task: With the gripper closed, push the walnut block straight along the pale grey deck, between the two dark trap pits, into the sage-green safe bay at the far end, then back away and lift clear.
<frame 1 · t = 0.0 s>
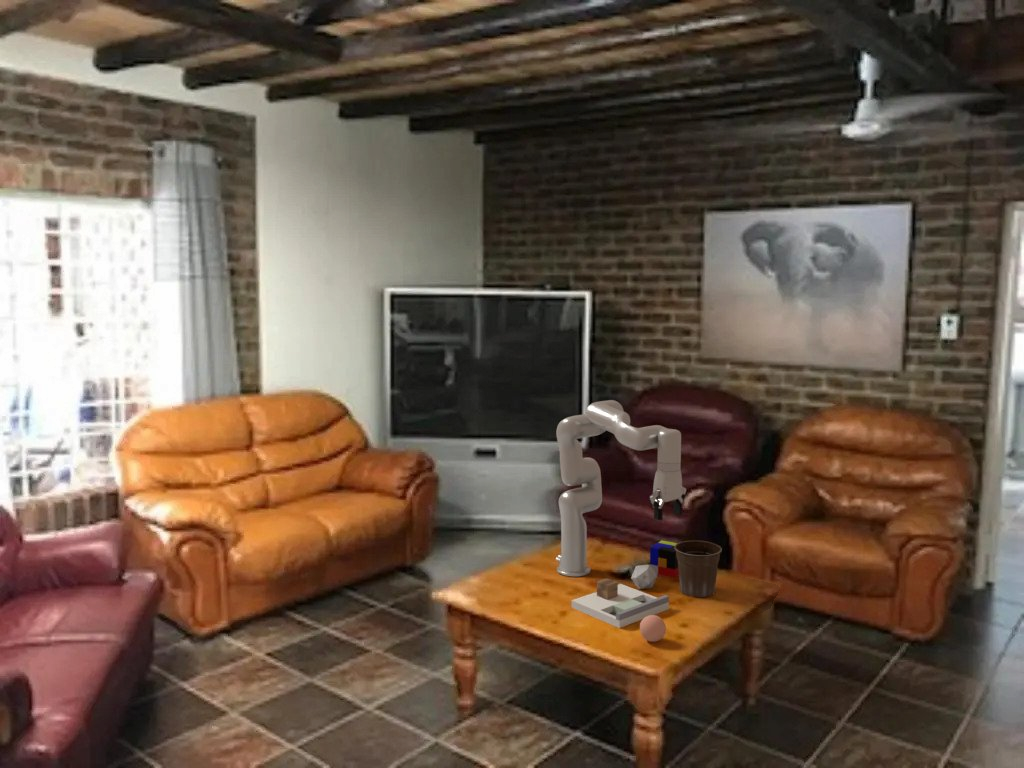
hand: (667, 516, 284), 31 cm above the table, tool pointing down, fingers open, 9 cm apart
toy ball: (652, 641, 262), on the table
die: (643, 587, 306), on the table
block: (607, 596, 291), point 2 cm above the table, touching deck
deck: (619, 608, 287), on the table
puzzle toy: (667, 572, 322), on the table
plant pot: (696, 592, 302), on the table
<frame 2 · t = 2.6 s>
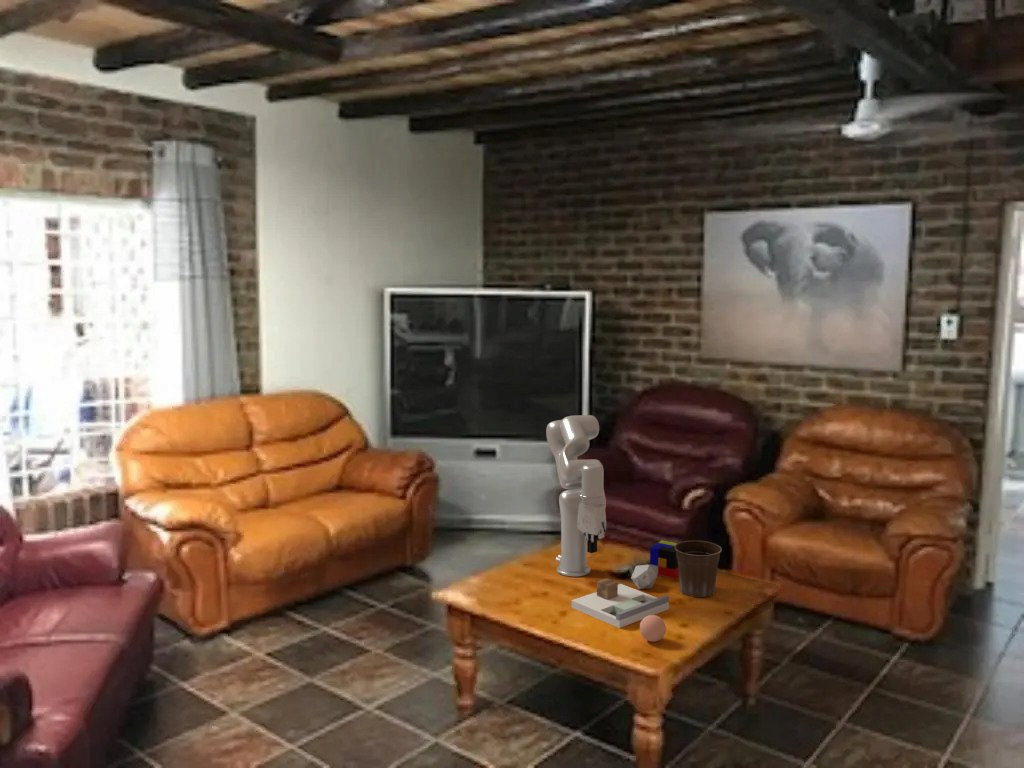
hand: (592, 551, 295), 16 cm above the table, tool pointing down, fingers closed
nothing on the table moved.
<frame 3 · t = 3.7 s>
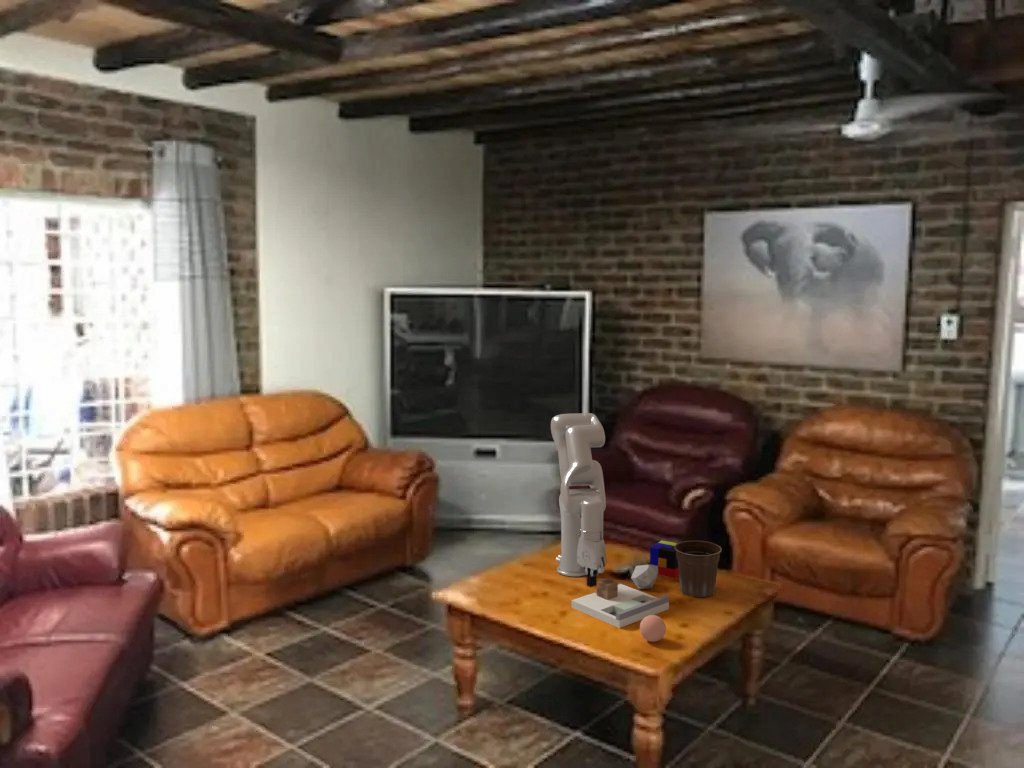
hand: (591, 585, 296), 4 cm above the table, tool pointing down, fingers closed
nothing on the table moved.
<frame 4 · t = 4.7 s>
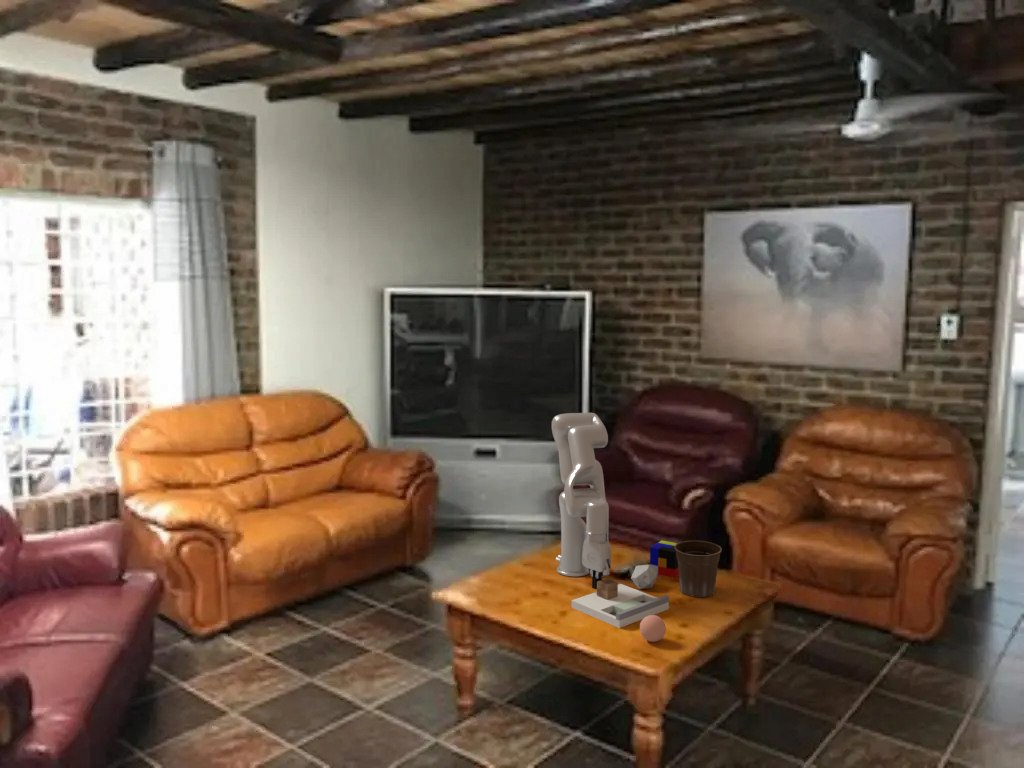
hand: (596, 587, 295), 4 cm above the table, tool pointing down, fingers closed
block: (607, 596, 291), point 3 cm above the table, touching gripper
everything else where it was.
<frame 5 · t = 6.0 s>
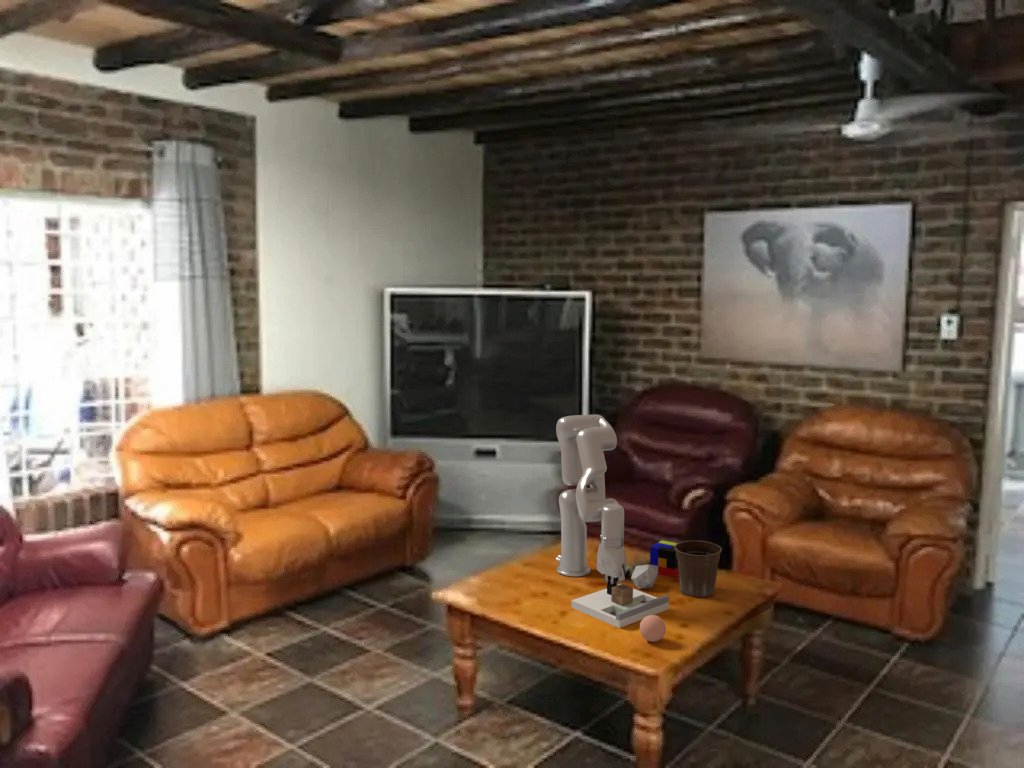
hand: (611, 593, 289), 4 cm above the table, tool pointing down, fingers closed
block: (622, 602, 286), point 3 cm above the table, touching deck, gripper
everything else where it was.
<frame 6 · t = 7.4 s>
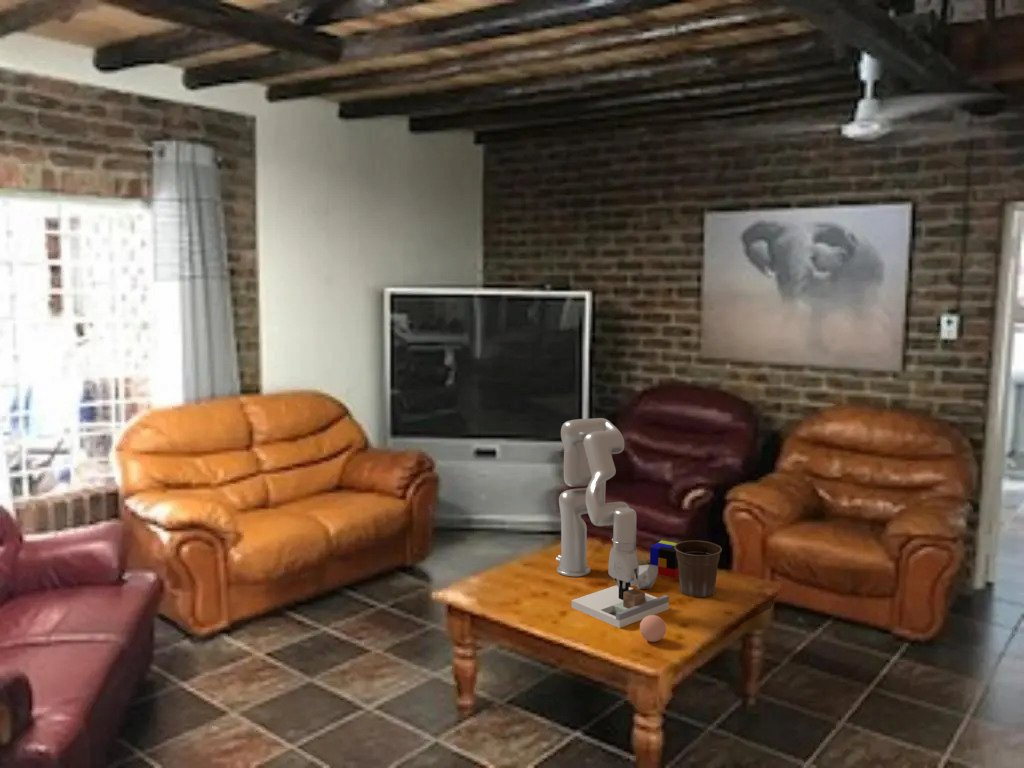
hand: (623, 598, 285), 4 cm above the table, tool pointing down, fingers closed
block: (634, 607, 281), point 3 cm above the table, touching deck, gripper
everything else where it was.
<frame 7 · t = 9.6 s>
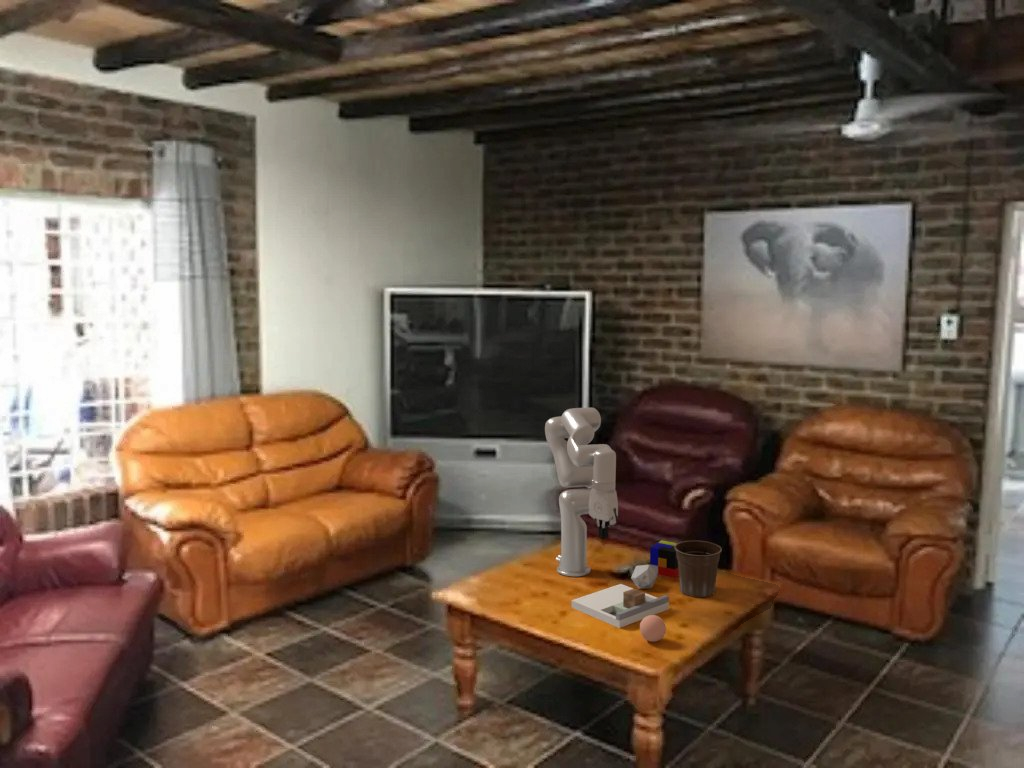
hand: (603, 537, 291), 22 cm above the table, tool pointing down, fingers closed
block: (634, 607, 281), point 2 cm above the table, touching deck
everything else where it was.
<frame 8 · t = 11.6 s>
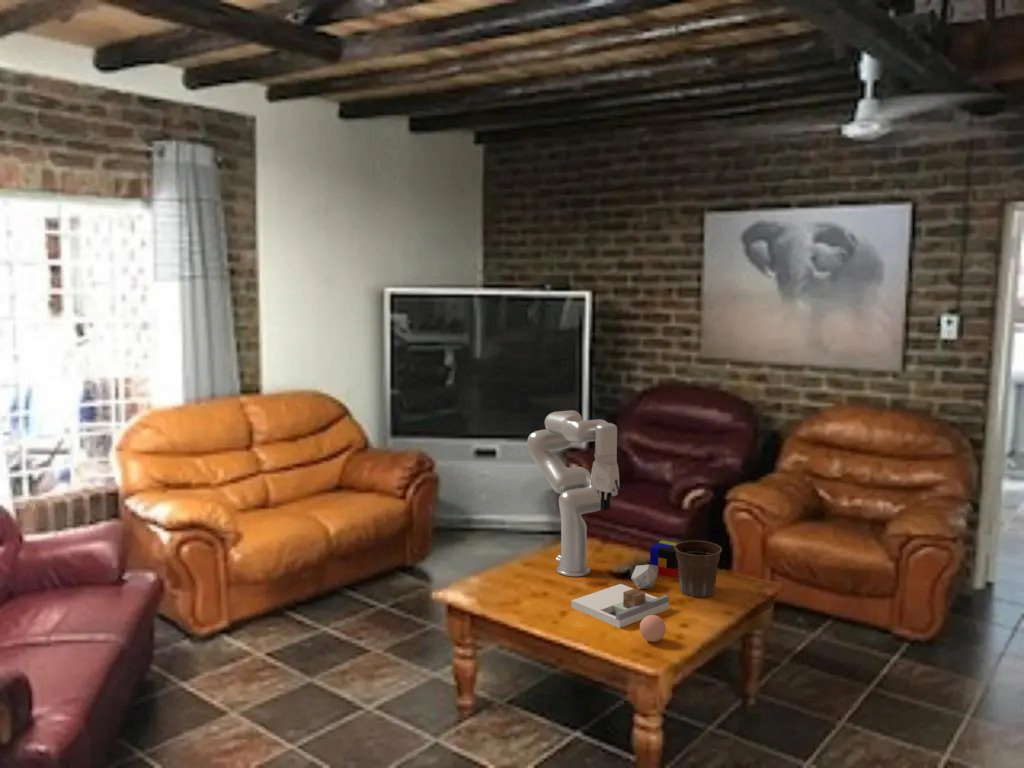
hand: (605, 509, 301), 29 cm above the table, tool pointing down, fingers closed
nothing on the table moved.
at the end: block 1.0 cm from the target spot on the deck, point 2.5 cm above the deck's base; block tilted 0° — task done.
